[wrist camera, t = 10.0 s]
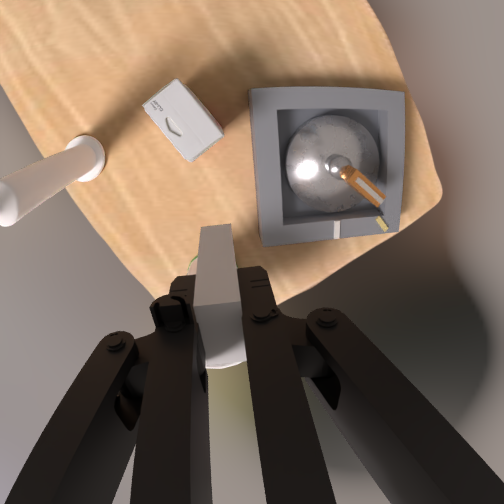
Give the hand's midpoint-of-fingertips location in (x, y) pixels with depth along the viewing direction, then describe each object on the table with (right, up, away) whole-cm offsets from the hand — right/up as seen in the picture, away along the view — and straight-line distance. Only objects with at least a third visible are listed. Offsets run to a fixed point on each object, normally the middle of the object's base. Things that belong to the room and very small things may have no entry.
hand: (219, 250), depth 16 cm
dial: (+13, +13, +28) cm, 33 cm away
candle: (-23, +14, +25) cm, 37 cm away
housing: (+13, +14, +29) cm, 34 cm away
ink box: (-7, +19, +24) cm, 31 cm away
